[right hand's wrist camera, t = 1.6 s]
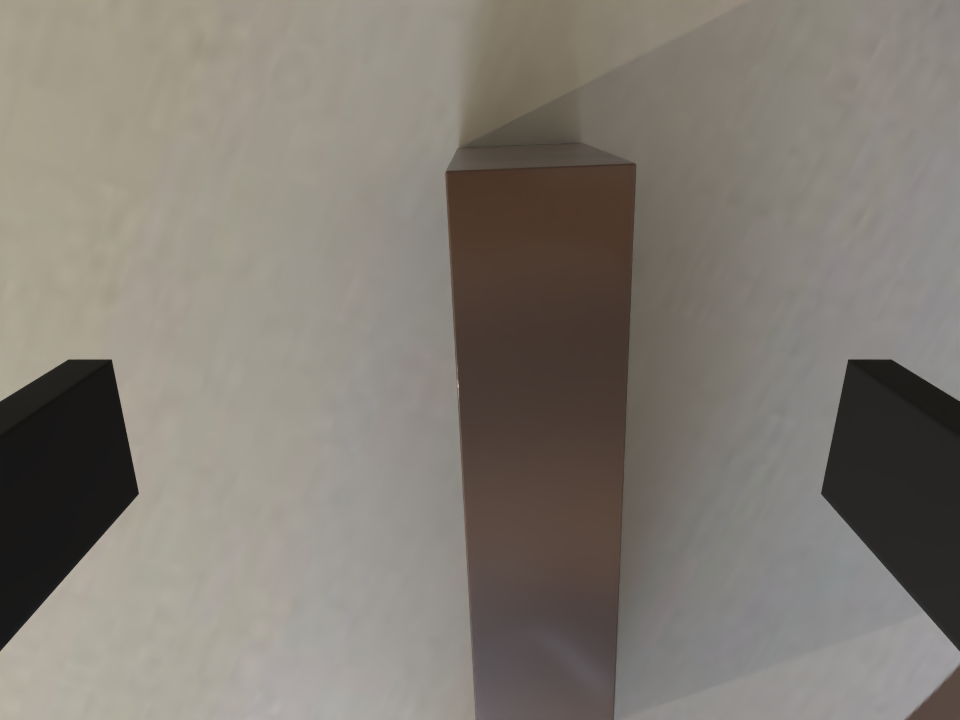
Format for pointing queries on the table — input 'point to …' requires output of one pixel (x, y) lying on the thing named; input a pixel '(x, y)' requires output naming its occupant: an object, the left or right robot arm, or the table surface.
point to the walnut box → (542, 418)
